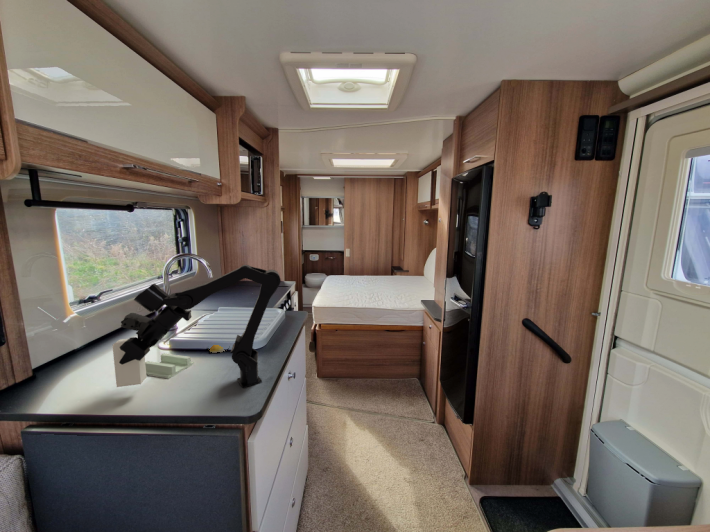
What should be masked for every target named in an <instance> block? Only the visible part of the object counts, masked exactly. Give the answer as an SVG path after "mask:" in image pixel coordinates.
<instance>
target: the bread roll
mask: <svg viewBox="0 0 710 532" xmlns="http://www.w3.org/2000/svg"><path fill="white" fill-rule="evenodd" d="M223 351H224V352H226V351H225V350H224V349H223V347H221V346H219V345H213V346H212V347H211V348H210V350H209V352H210V353H211V352H212V354H218V353H217V352H220V353H224V352H223Z"/></svg>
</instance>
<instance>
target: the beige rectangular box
mask: <svg viewBox="0 0 710 532" xmlns="http://www.w3.org/2000/svg"><path fill="white" fill-rule="evenodd" d="M128 339H129V338H124V339H122V338H121V339H118V340H117V341H116V342H114V343H113V344H112V353H113V364H114V373H115V381H116V383H115V384H116V388H120V387H121V388H122V387H129V386H137V385H142V384H143V382H145V380H146V379H147V375H146V367H145V362H146V357H145V356H146V355H145V356H144V357H143V358H142V359H141V360H140V361H139V360H136V359H135V360H132V361H130V362H127V363H125V364H123V365H122V364H120V363H119V362H120V360H121V359H122V357H123V355H124V354H125V352H124V351H122V350H121V349H120V346H121V345H122V344H123V343H124V342H126V341H127V340H128ZM142 340H143V339H142ZM142 340H141V341H142Z"/></svg>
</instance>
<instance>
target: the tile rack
mask: <svg viewBox="0 0 710 532" xmlns="http://www.w3.org/2000/svg"><path fill="white" fill-rule="evenodd" d="M191 360H192V359H191V356H186V355H178V354H171V353H165V352H164V353H161V354H160V362H157V361H150V360H147V361H145V367H146V376H150V377H156V378H160V379H161V378H162V379H168V380H169V379H171V378H172V377H174V376H176V375H178V374H179V373H181V372H183V371H184V370H187V369H188V368H190V367H192V366H193V365H194V364H195V362H194V361H191Z"/></svg>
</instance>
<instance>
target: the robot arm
mask: <svg viewBox="0 0 710 532" xmlns="http://www.w3.org/2000/svg"><path fill="white" fill-rule="evenodd" d="M246 279H247V280H250V281H252V282H255V283H258V284H260V288H259V294H258V296H257V299H256V301H255V303H254V307H253V309H252V310H251V314H250V317H249V320H248V322H247V324H246V326H245V329H244V332H242V334H241V335H239V334H237V335H236V337H235V341H234V343H233V344H232V347H231V349H230V354H231V360H232V361H233V362H234V363H235V364H236V365H237V366H238V368H239V375H240V376H239V377H237V379H236V381H237V382H238V384H239V386H240V387H241V388H243V389H245V388H248V387H251V386H254V385H256V384H260V383H262V382H263V380H262V378H261V377H260V376H259V362H258V361H259V351H258V350H256V349H255V348H254V340H255V337H256V335H257V333H258V330H259V327H260V325H261V322H262V320H263V317H264V314H265V312H266V310H267V307H268V304H269V303H270V300H271V298H272V297H273V295H274V294H275V293H276V292H277V290H278V288H279V286H280V284H281V280H282V279H281V276H280V273H279V272H278V270H275V269H268V270H266V269H263V268H259V267H255V266H251V265H249V264H243V265H240V267H238V268H235V269H234V270H232V271H230V272H228V273H226V274H223V275H221V276H219V277H217V278H214V279H212V280H210V281H208V282H205V283H202V284H198V285H194V286H190V287H187V288H185V289H184V290H182V291H179V292H174V293H173V292H172V293H170V294H168V293H167V292H166V291H165V290H163V289H162V288H160V286H159V285H158V284H156V283H152V284H151V285H149V287H147V288H145V289H144V290H143V291H142V292H140V293H138V294H137V296H135V298H134V299H133V301H134V302H136V303H137V304H139V305H140V306H142V307H143V308H144V309H146V310H147V311H148V312H150V313H153V312H156V313H157V312H159V313H157V315H155V316H153V317H152V318H150V317H148V316H145V315H142V314H138V313H136V312H130V313H128V314H126V315H125V316H124V318H123V319H122V320H121V321H120V324H121V325H120V327H121V328H123V329H127V330H132V331H136V332H135V334H136V336H137V337H134V336H133V337H129V338H127V339H128V340H127V341H126V342H124V343H123V344H122V345H121V346H120V349H121V350H122V351H124V352H125V354H124V355H123V357H122V359H121V360H120V362H119V363H120V364H122V365H123V364H125V363H127V362H130V361H132V360H135V359H136V360H139V361H140V360H141V359H142V358H143V357H144V356H147V354H148V353H149V352H151V348H152V347H154V346H155V345H157V344H158V342H159V341H161V340H162V339H163V338H164V337H166V335H167V334H168V332H170V330H172V328H173V327H175V326H176V325H177V324H178V323H179V322H180V321H181V320H182V319H183V320H184V321H186V322H189V321H190V320H191V318H193V317H192V310H191V309H193V308H194V307H197V306H198V305H199V304H200V303H201V302H204V300H205V299H207V298H208V297H210V296H211V295H213V294H216V293H218V292H220V291H222V290H223V289H225V288H228V287H230V286H232V285H235V284H237V283H238V282H240V281H242V280H246ZM164 306H165V307H164ZM163 307H164V308H163ZM162 308H163V309H162ZM161 309H162V310H161ZM160 310H161V311H160ZM142 339H143V340H142ZM141 340H142V341H141Z"/></svg>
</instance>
